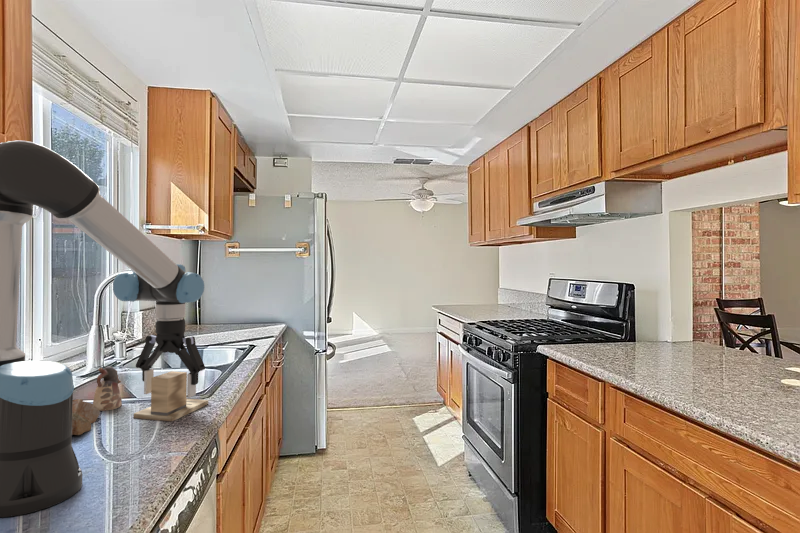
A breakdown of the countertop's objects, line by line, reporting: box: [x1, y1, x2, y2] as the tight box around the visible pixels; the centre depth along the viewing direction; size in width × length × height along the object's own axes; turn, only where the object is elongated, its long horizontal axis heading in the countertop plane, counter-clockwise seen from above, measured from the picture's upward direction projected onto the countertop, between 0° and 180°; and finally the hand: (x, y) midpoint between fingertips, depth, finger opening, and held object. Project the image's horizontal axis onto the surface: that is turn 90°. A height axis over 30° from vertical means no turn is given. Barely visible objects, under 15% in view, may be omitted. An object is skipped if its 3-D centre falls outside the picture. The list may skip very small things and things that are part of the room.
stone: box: [72, 398, 101, 436], centre depth 117 cm, size 17×9×10 cm, turn 17°
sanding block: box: [150, 370, 188, 416], centre depth 128 cm, size 8×5×10 cm, turn 169°
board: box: [133, 398, 209, 422], centre depth 131 cm, size 16×12×1 cm
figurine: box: [92, 366, 123, 412], centre depth 134 cm, size 7×7×12 cm
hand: (169, 394), depth 128 cm, fingers open, 13 cm apart
